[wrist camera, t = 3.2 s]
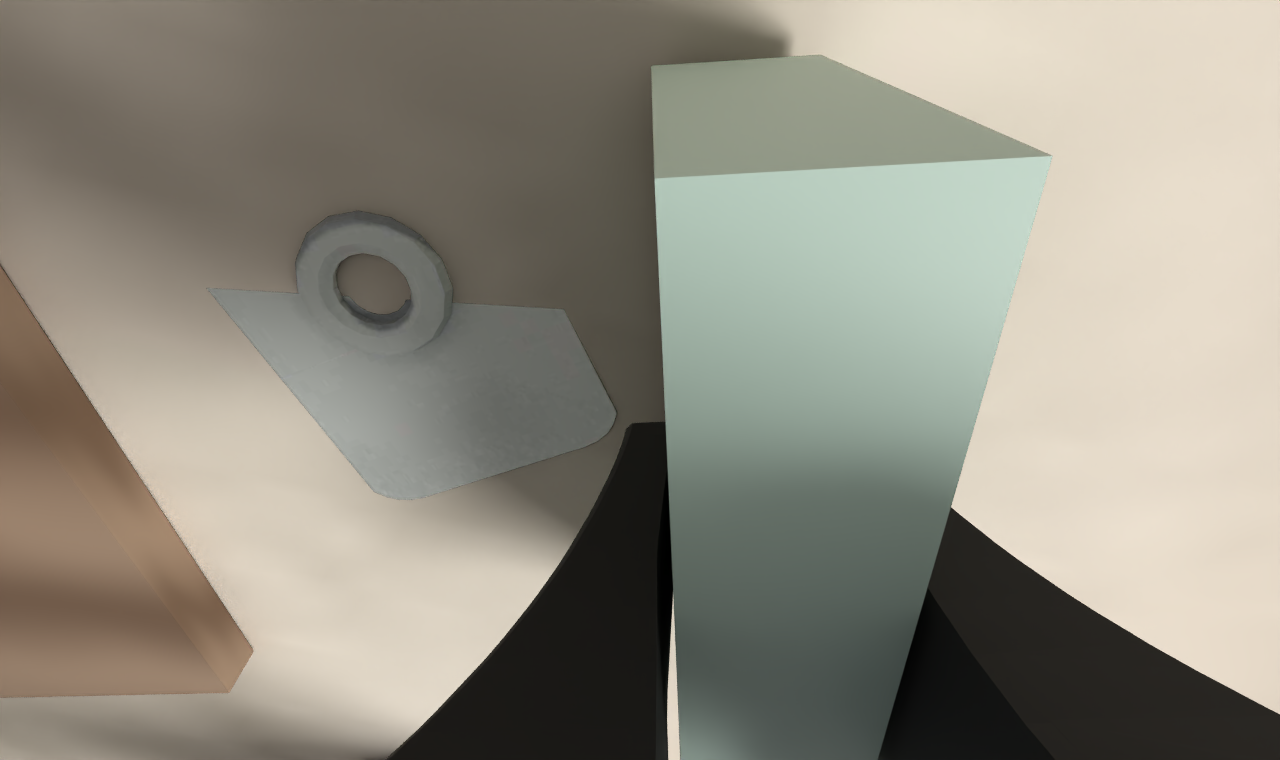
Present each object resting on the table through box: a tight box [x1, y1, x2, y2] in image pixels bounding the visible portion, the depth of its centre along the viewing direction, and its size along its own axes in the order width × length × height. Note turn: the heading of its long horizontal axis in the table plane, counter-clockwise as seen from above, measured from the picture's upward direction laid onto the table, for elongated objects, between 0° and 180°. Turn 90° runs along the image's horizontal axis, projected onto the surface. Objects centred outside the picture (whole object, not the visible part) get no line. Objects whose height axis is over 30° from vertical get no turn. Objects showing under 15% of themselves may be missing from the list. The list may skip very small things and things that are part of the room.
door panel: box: [651, 55, 1052, 760], centre depth 10 cm, size 12×2×6 cm, turn 3°
